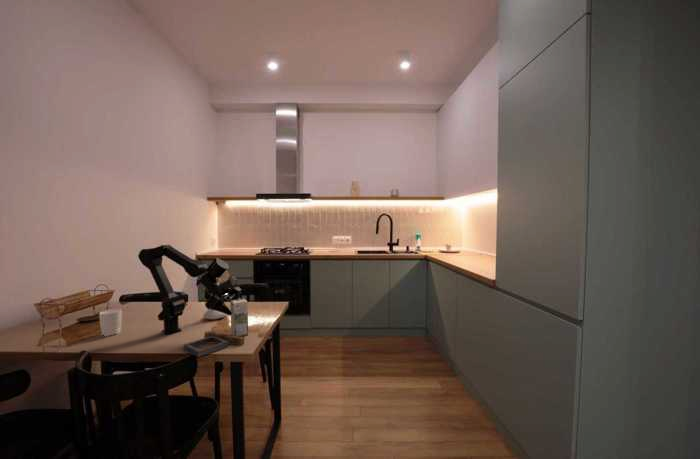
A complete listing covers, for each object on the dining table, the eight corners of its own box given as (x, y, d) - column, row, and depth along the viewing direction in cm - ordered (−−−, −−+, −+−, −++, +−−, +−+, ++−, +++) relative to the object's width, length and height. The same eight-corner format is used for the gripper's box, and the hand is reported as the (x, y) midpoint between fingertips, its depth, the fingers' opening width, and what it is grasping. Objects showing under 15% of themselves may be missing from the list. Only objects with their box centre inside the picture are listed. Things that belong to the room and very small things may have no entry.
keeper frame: (184, 349, 115) (183, 344, 115) (213, 340, 123) (213, 335, 123) (198, 357, 107) (197, 351, 107) (228, 346, 116) (228, 341, 116)
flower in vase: (200, 322, 148) (198, 271, 147) (205, 315, 159) (203, 267, 158) (229, 319, 151) (227, 269, 151) (232, 313, 162) (230, 266, 162)
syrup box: (244, 331, 133) (243, 298, 133) (248, 334, 129) (247, 300, 128) (231, 334, 130) (229, 300, 130) (234, 338, 125) (233, 302, 125)
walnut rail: (204, 338, 126) (204, 332, 126) (207, 337, 127) (207, 331, 127) (241, 345, 117) (240, 338, 117) (244, 343, 119) (243, 337, 119)
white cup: (126, 332, 137) (125, 309, 137) (106, 338, 130) (105, 314, 130) (116, 330, 141) (115, 308, 140) (96, 335, 133) (95, 313, 133)
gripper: (210, 275, 121) (236, 303, 119) (236, 268, 139) (259, 293, 137) (193, 295, 123) (219, 323, 121) (221, 286, 141) (244, 310, 139)
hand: (237, 311), depth 129 cm, fingers open, 9 cm apart
